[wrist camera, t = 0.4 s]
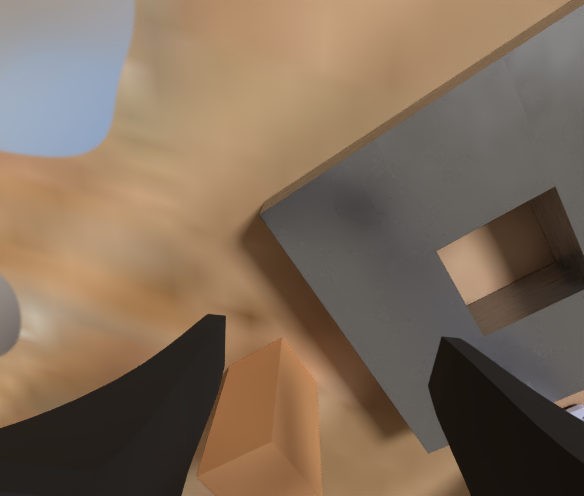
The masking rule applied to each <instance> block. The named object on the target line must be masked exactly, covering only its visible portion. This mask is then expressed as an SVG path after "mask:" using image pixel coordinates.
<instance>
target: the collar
mask: <svg viewBox="0 0 584 496" xmlns="http://www.w3.org/2000/svg"><path fill="white" fill-rule="evenodd" d="M527 201H530V203H531V205H532V208H533V210H534V212H535V215H536V217H537V219H538V221H539V224H540V226H541V228H542V230H543V233H544V235H545V237H546V239H547V242H548V244H549V246H550V248H551V251H552V253H553V255H554V258H555V260H556V262H554V263H552V264H550V265H548V266H546V267H544V268H542V269H540V270H538V271H536V272H534V273H532V274H530V275H528V276H526V277H524V278H522V279H520V280H518V281H516V282H514V283H512V284H510V285H508V286H506V287H504V288H502V289H500V290H498V291H496V292H494V293H492V294H490V295H488V296H486V297H484V298H482V299H480V300H478V301H476V302H474V303H472V304H470V305H468V306H466V304H465V302H464V300H463V299H462V297H461V295H460V293H459V291H458V290H457V288H456V286H455V284H454V282H453V281H452V279H451V277H450V275H449V273H448V272H447V270H446V268H445V266H444V265H443V263H442V261H441V259H440V257H439V256H438V254H437V252H436V251H437V250H439V249H441V248H443V247H445V246H446V245H448V244H450V243H452V242H454V241H456V240H457V239H459V238H461V237H463V236H465V235H467V234H468V233H470V232H472V231H474V230H476V229H478V228H479V227H481V226H483V225H485V224H487V223H489V222H490V221H492V220H494V219H496V218H498V217H500V216H501V215H503V214H505V213H507V212H509V211H511V210H512V209H514V208H516V207H518V206H520V205H522V204H523V203H525V202H527ZM259 215H260V216H261V218H262V219H263V221H264V222H265V223H266V225H267V226H268V228H269V229H270V231H271V232H272V233H273V235H274V236H275V238H276V239H277V240H278V242H279V243H280V245H281V246H282V247H283V249H284V250H285V252H286V253H287V255H288V256H289V257H290V259H291V260H292V262H293V263H294V264H295V266H296V267H297V269H298V270H299V271H300V273H301V274H302V276H303V277H304V279H305V280H306V281H307V283H308V284H309V286H310V287H311V288H312V290H313V291H314V293H315V294H316V296H317V297H318V298H319V300H320V301H321V303H322V304H323V305H324V307H325V308H326V310H327V311H328V312H329V314H330V315H331V317H332V318H333V320H334V321H335V322H336V324H337V325H338V327H339V328H340V329H341V331H342V332H343V334H344V335H345V336H346V338H347V339H348V341H349V342H350V344H351V345H352V346H353V348H354V349H355V351H356V352H357V353H358V355H359V356H360V358H361V359H362V361H363V362H364V363H365V365H366V366H367V368H368V369H369V370H370V372H371V373H372V375H373V376H374V377H375V379H376V380H377V382H378V383H379V385H380V386H381V387H382V389H383V390H384V392H385V393H386V394H387V396H388V397H389V399H390V400H391V401H392V403H393V404H394V406H395V407H396V409H397V410H398V411H399V413H400V414H401V416H402V417H403V418H404V420H405V421H406V423H407V424H408V425H409V427H410V428H411V430H412V431H413V433H414V434H415V435H416V437H417V438H418V440H419V441H420V442H421V444H422V445H423V447H424V448H425V450H426V451H427V452H428V453H431V452H433V451H436V450H438V449H441V448H443V447H446V446H448V445H449V444H448V441H447V439H446V437H445V435H444V432H443V430H442V428H441V425H440V423H439V421H438V418H437V416H436V413H435V409H434V406H433V403H432V399H431V396H430V392H429V388H428V383H429V380H430V376H431V372H432V369H433V365H434V362H435V358H436V354H437V351H438V347H439V344H440V340H441V337H442V336H443V337H454V338H461V339H462V340H464V341H466V342H467V343H469V344H470V345H472V346H473V347H475V348H476V349H477V350H479V351H480V352H482V353H483V354H484V355H486V356H487V357H488V358H490V359H491V360H492V361H494V362H495V363H497V364H498V365H499V366H501V367H502V368H503V369H505V370H506V371H508V372H509V373H510V374H512V375H513V376H515V377H516V378H517V379H519V380H520V381H522V382H523V383H524V384H526V385H527V386H529V387H530V388H532V389H533V390H535V391H536V392H538V393H539V394H541V395H542V396H544V397H545V398H547V399H548V400H550V401H551V402H555V401H558V400H560V399H563V398H565V397H568V396H570V395H573V394H575V393H577V392H580V391H582V390H584V0H571V1H570V2H568V3H567V4H565V5H564V6H562V7H561V8H559V9H558V10H556V11H555V12H553V13H552V14H550V15H548V16H547V17H545V18H544V19H542V20H541V21H539V22H538V23H536V24H535V25H533V26H532V27H530V28H529V29H527V30H526V31H524V32H523V33H521V34H519V35H518V36H516V37H515V38H513V39H512V40H510V41H509V42H507V43H506V44H504V45H503V46H501V47H500V48H498V49H497V50H495V51H494V52H492V53H490V54H489V55H487V56H486V57H484V58H483V59H481V60H480V61H478V62H477V63H475V64H474V65H472V66H471V67H469V68H468V69H466V70H465V71H463V72H461V73H460V74H458V75H457V76H455V77H454V78H452V79H451V80H449V81H448V82H446V83H445V84H443V85H442V86H440V87H439V88H437V89H436V90H434V91H432V92H431V93H429V94H428V95H426V96H425V97H423V98H422V99H420V100H419V101H417V102H416V103H414V104H413V105H411V106H410V107H408V108H407V109H405V110H403V111H402V112H400V113H399V114H397V115H396V116H394V117H393V118H391V119H390V120H388V121H387V122H385V123H384V124H382V125H381V126H379V127H378V128H376V129H374V130H373V131H371V132H370V133H368V134H367V135H365V136H364V137H362V138H361V139H359V140H358V141H356V142H355V143H353V144H352V145H350V146H349V147H347V148H345V149H344V150H342V151H341V152H339V153H338V154H336V155H335V156H333V157H332V158H330V159H329V160H327V161H326V162H324V163H323V164H321V165H320V166H318V167H316V168H315V169H313V170H312V171H310V172H309V173H307V174H306V175H304V176H303V177H301V178H300V179H298V180H297V181H295V182H294V183H292V184H291V185H289V186H287V187H286V188H284V189H283V190H281V191H280V192H278V193H277V194H275V195H274V196H272V197H271V198H269V199H268V200H266V201H265V203H264V205H263V207H262V210H261V212H260V214H259Z"/></svg>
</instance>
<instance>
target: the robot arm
mask: <svg viewBox="0 0 584 496" xmlns="http://www.w3.org/2000/svg"><path fill="white" fill-rule="evenodd" d="M225 325H226V316H223V315H213V314H207V315H206V316H204V317H203V318H202V319H201V320H199V321H198V322H197V323H196V324H195V325H193V326H192V327H191V328H190V329H189V330H187V331H186V332H185V333H184V334H183V335H181V336H180V337H179V338H178V339H176V340H175V341H174V342H172V343H171V344H170V345H169V346H167V347H166V348H165V349H163V350H162V351H160V352H159V353H158V354H156V355H155V356H153V357H152V358H150V359H149V360H148V361H146V362H145V363H143V364H142V365H140V366H138V367H137V368H135V369H134V370H132V371H130V372H129V373H127V374H125V375H123V376H122V377H120V378H118V379H116V380H115V381H113V382H111V383H109V384H107V385H105V386H103V387H101V388H99V389H97V390H95V391H93V392H91V393H89V394H87V395H85V396H82V397H80V398H78V399H76V400H74V401H72V402H69V403H67V404H65V405H62V406H60V407H58V408H55V409H53V410H50V411H47V412H45V413H42V414H40V415H37V416H35V417H32V418H29V419H27V420H24V421H21V422H18V423H15V424H12V425H9V426H6V427H3V428H0V496H181V495H182V491H183V488H184V484H185V481H186V477H187V474H188V471H189V468H190V465H191V462H192V459H193V456H194V454H195V451H196V449H197V446H198V443H199V441H200V438H201V436H202V433H203V431H204V428H205V425H206V423H207V420H208V418H209V415H210V412H211V410H212V407H213V405H214V402H215V399H216V397H217V394H218V390H219V386H220V383H221V379H222V374H223V370H224V366H225ZM428 388H429V392H430V396H431V399H432V403H433V406H434V409H435V413H436V416H437V418H438V421H439V423H440V425H441V428H442V430H443V432H444V435H445V437H446V439H447V441H448V444H449V446H450V448H451V451H452V453H453V455H454V457H455V460H456V462H457V464H458V466H459V469H460V471H461V473H462V475H463V478H464V480H465V482H466V484H467V487H468V489H469V492H470V495H471V496H584V405H576V406H574V407H571V408H569V409H566V410H564V409H562V408H561V407H559V406H557V405H556V404H554V403H553V402H551V401H550V400H548V399H547V398H545V397H544V396H542V395H541V394H539V393H538V392H536V391H535V390H533V389H532V388H530V387H529V386H527V385H526V384H524V383H523V382H522V381H520V380H519V379H517V378H516V377H515V376H513V375H512V374H510V373H509V372H508V371H506V370H505V369H503V368H502V367H501V366H499V365H498V364H497V363H495V362H494V361H492V360H491V359H490V358H488V357H487V356H486V355H484V354H483V353H482V352H480V351H479V350H477V349H476V348H475V347H473V346H472V345H470V344H469V343H467V342H466V341H464V340H462V339H461V338H454V337H443V336H442V337H441V340H440V344H439V347H438V351H437V354H436V358H435V362H434V365H433V369H432V372H431V376H430V380H429V383H428Z"/></svg>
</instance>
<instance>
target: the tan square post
mask: <svg viewBox="0 0 584 496" xmlns="http://www.w3.org/2000/svg"><path fill="white" fill-rule="evenodd" d="M196 477H197V478H198V479H199V480H200V481H201V482H202V483H203V484H204V485H205V486H206V487H207V488H208V489H209V490H210V491H211V492H212V493H213V494H214V495H215V496H322V477H321V456H320V435H319V413H318V392H317V382H316V381H315V379H314V378H313V377H312V375H311V374H310V373H309V372H308V370H307V369H306V368H305V366H304V365H303V364H302V363H301V361H300V360H299V359H298V357H297V356H296V355H295V354H294V352H293V351H292V350H291V348H290V347H289V346H288V345H287V343H286V342H285V341H284V339H283V338H280V339H278V340H277V341H275V342H273V343H271V344H269V345H267V346H266V347H264V348H262V349H260V350H258V351H256V352H254V353H253V354H251V355H249V356H247V357H245V358H243V359H242V360H240V361H238V362H236V363H234V364H232V365H231V366H229V369H228V373H227V376H226V379H225V383H224V386H223V389H222V393H221V396H220V399H219V403H218V406H217V409H216V413H215V416H214V419H213V423H212V426H211V429H210V433H209V436H208V439H207V443H206V446H205V449H204V453H203V456H202V459H201V463H200V466H199V469H198V473H197V476H196Z"/></svg>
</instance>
